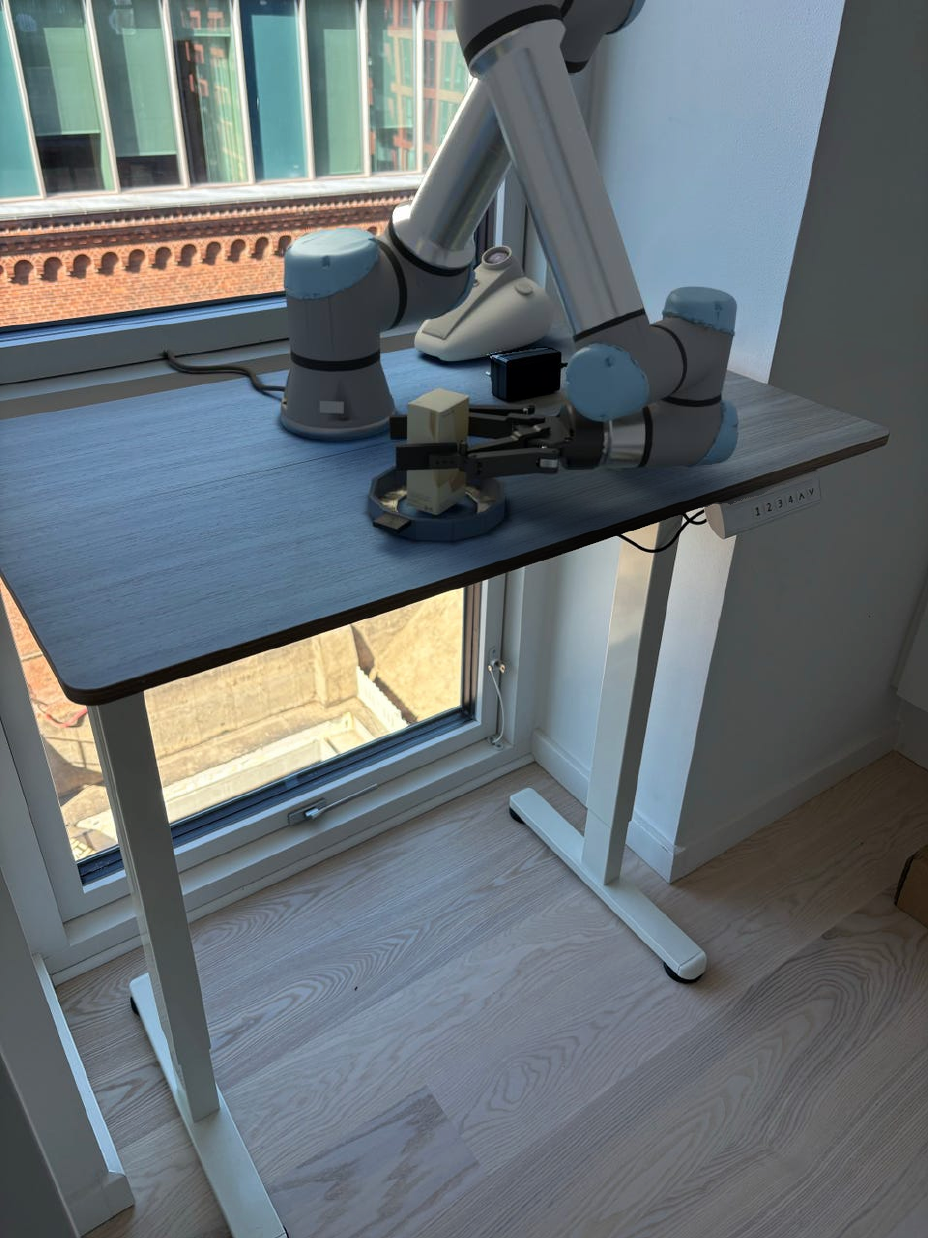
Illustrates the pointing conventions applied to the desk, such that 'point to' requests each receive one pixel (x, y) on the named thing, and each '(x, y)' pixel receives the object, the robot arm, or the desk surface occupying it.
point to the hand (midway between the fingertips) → (393, 441)
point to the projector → (490, 313)
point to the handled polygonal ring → (387, 518)
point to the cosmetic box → (437, 422)
